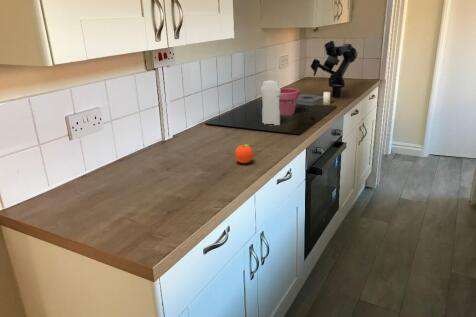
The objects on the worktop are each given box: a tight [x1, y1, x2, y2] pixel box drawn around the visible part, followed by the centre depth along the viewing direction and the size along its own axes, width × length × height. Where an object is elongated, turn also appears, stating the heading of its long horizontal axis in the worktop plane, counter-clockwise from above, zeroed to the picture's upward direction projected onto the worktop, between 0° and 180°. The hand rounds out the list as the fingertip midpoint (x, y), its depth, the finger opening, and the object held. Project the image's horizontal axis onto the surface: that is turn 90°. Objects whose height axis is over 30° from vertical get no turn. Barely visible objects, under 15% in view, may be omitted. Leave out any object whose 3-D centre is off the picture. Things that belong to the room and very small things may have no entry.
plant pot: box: [279, 88, 300, 116], centre depth 218 cm, size 14×14×13 cm
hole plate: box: [296, 93, 323, 107], centre depth 245 cm, size 16×16×3 cm
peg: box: [322, 91, 331, 106], centre depth 236 cm, size 4×4×7 cm
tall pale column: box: [260, 79, 282, 126], centre depth 198 cm, size 11×4×22 cm, turn 61°
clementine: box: [234, 144, 254, 164], centre depth 152 cm, size 8×7×7 cm
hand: (321, 79), depth 232 cm, fingers open, 9 cm apart
